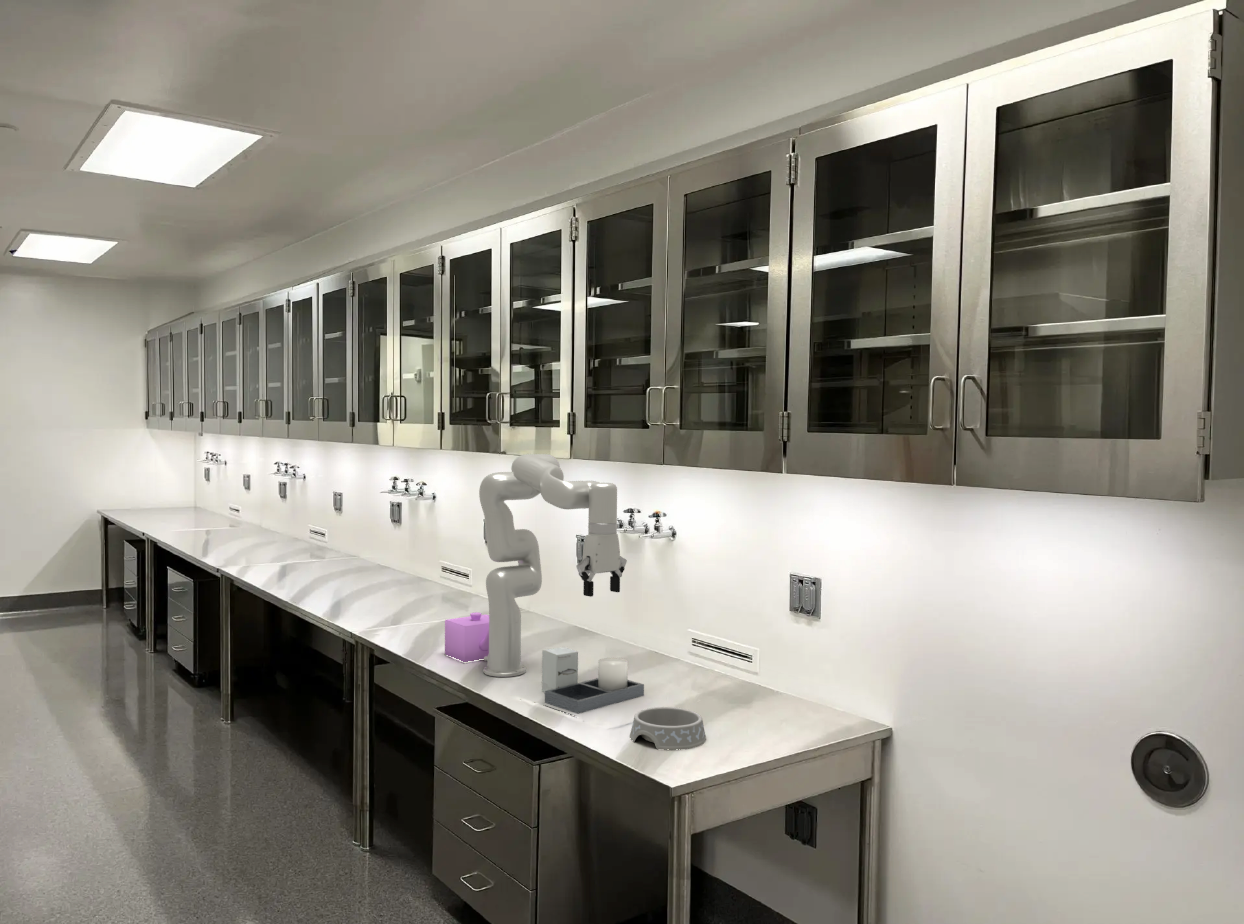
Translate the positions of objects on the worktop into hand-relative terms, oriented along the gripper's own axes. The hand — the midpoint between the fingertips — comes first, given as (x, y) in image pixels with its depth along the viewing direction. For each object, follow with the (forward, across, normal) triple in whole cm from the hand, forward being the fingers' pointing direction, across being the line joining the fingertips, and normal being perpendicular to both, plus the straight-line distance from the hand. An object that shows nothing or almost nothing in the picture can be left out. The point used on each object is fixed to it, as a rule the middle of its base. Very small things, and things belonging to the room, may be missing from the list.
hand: (601, 593), depth 240 cm
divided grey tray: (+29, 0, -2) cm, 29 cm away
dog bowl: (+30, +7, +30) cm, 43 cm away
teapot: (+30, -6, -64) cm, 71 cm away
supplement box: (+30, +3, -13) cm, 32 cm away
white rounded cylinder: (+28, -6, -2) cm, 29 cm away
